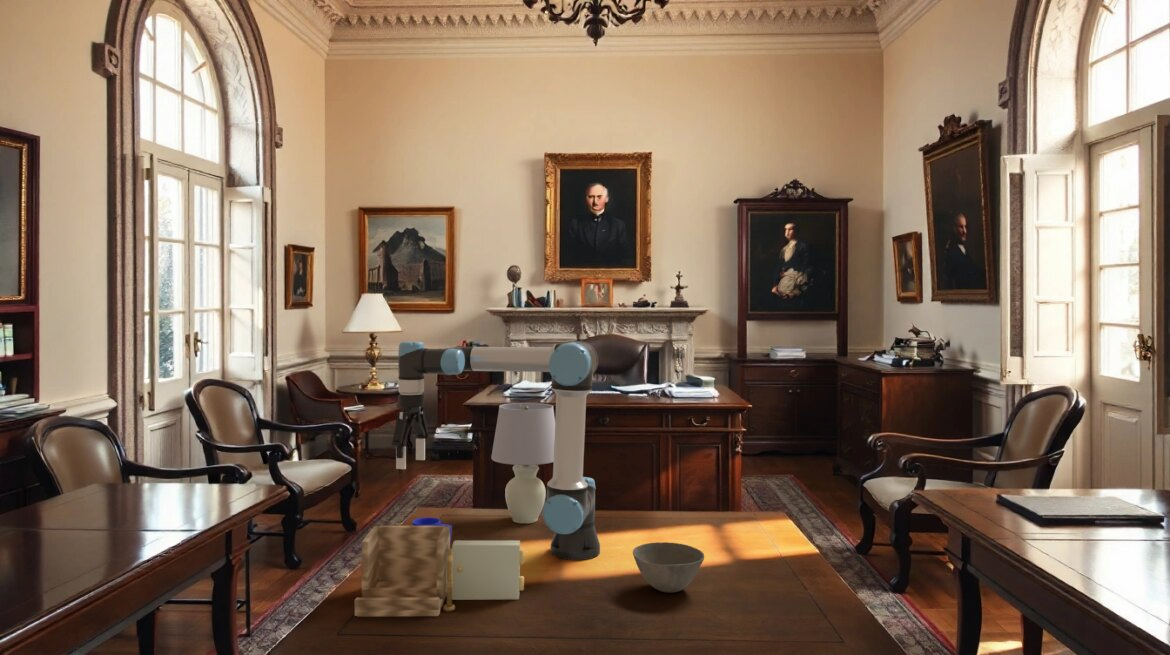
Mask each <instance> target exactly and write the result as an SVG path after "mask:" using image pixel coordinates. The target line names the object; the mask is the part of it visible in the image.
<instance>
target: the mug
mask: <svg viewBox="0 0 1170 655" xmlns="http://www.w3.org/2000/svg"><path fill="white" fill-rule="evenodd" d="M412 526H450V542H451V540H452V531H453V526H452V525H451V524H444V523H441V520H440V518H437V517H420V518H416V519H414V520H412Z"/></svg>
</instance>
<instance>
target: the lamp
mask: <svg viewBox="0 0 1170 655" xmlns="http://www.w3.org/2000/svg"><path fill="white" fill-rule="evenodd" d="M498 407H499V408H498V414H497V421H496V425H495V426H496V427H495V432H494V439H493V443H492V444H493V445H492V453H491V457H490V458H491V460H492V461H493V462H496V463H498V464H499V463H500V464H505V465H513V466H512V472H513V473H514V477H513V478H511V479H510V480H509V481H508V482H507V484H506V486H505V489H504V490H505V494H504V497H505V503H506V506H507V509H508V512H509V514H510V516H511V519H512V521H513V522H514V523H517V524H523V525H526V524H532V523H533V524H534V523H535V522H537V521H538V520H539V517H540V514H541V513H542V512H543V507H544V504H545V502H546V497H547V488H546V487H545V484H544V482H543V481H542V480H541V479H540V478H539V477H538V476H537V474H538V471H539V470H540V467H539V465H545V464H551V463H554V441H555V418H556V416H555V409H554V405H552V404H548V403H539V402H513V403H505V404H500V405H499V406H498Z"/></svg>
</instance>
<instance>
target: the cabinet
mask: <svg viewBox="0 0 1170 655" xmlns="http://www.w3.org/2000/svg"><path fill="white" fill-rule="evenodd" d="M445 600H446V603H445V604H444V602H445ZM442 608H443V611H444V612H453V611H455V610H456V605H455V604H453V600H452V548H451V541H450V526H413V525H374V526H373V527H372V529H370V531H369V532H368V533H367V534H366V536H365V537H364V539H362V541H361V597H356V598H355V599H354V617H355V616H357V617H439V615H440V614H441V611H442Z"/></svg>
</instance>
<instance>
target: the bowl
mask: <svg viewBox="0 0 1170 655" xmlns="http://www.w3.org/2000/svg"><path fill="white" fill-rule="evenodd" d="M632 556H633V558H634V561H635V564H636V566H637V568H638V571H639V573H640V575H641V576H642V577H643V579H644V580H645V581H646V583H647V584H649V585H650V586H651V587H652V588H654V589H656V591H659V592H662V593H678V592H680V591H682V590H685V589H686V588H687V587H688V586H689V584H691V582H692V581H693V580H694V579H695V577H696V575H697V573H698V572H699V570H700V569H701V566H702V564H703V562H704V560H705V554H704V552H703V551H702V550H700V549H698V548H696V547H693V546H690V545H688V544H683V543H679V542H678V543H677V542H667V541H666V542H661V541H660V542H649V543H643V544H640V545H637V546H636V547H635V548H634V549H633V550H632Z"/></svg>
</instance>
